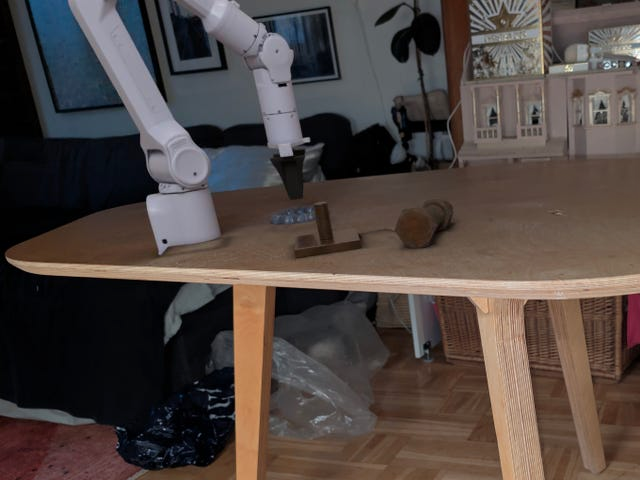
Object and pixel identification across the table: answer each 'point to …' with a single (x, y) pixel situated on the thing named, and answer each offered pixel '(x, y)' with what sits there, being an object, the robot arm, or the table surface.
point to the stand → (325, 236)
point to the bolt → (423, 222)
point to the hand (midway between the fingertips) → (297, 195)
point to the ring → (293, 215)
